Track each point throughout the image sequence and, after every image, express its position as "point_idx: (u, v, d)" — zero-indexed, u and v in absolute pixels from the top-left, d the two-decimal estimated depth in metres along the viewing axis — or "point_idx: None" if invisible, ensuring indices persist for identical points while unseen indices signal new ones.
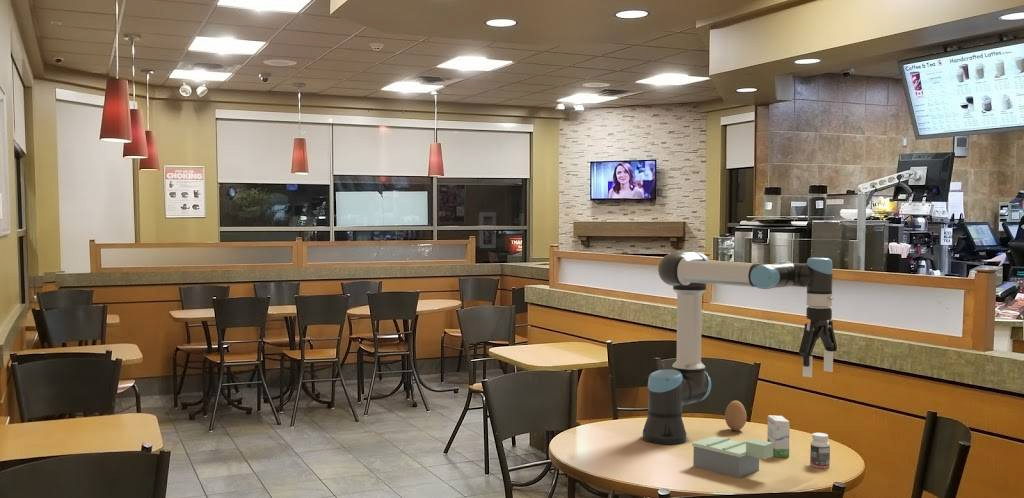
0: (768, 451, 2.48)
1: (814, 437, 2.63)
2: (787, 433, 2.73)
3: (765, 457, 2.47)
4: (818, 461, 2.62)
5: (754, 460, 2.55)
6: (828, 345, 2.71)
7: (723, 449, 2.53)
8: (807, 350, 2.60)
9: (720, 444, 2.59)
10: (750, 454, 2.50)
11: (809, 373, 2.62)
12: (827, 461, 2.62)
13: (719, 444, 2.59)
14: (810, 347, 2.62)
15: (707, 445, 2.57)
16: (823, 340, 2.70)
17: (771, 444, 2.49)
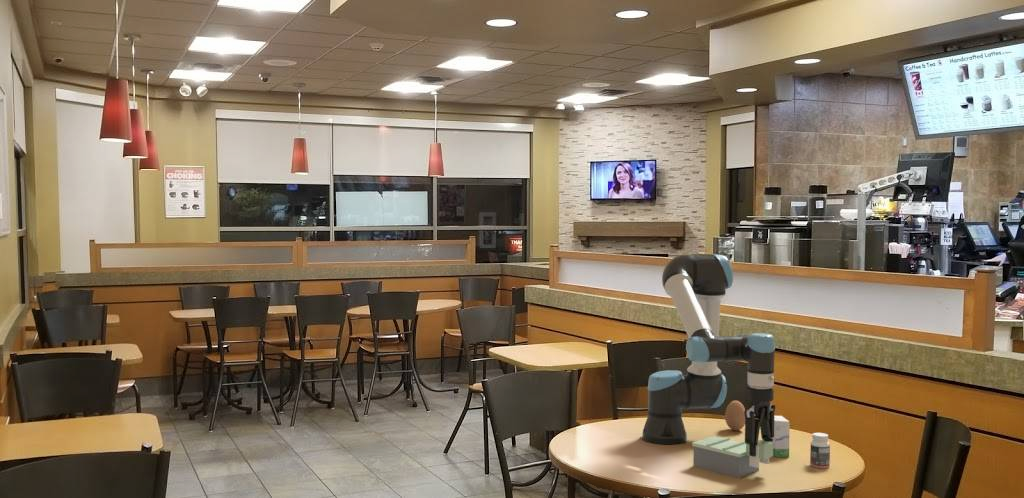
0: (768, 451, 2.48)
1: (814, 437, 2.63)
2: (787, 433, 2.73)
3: (765, 457, 2.47)
4: (818, 461, 2.62)
5: None
6: (765, 432, 2.52)
7: (723, 449, 2.53)
8: (752, 440, 2.45)
9: (720, 444, 2.59)
10: None
11: (756, 463, 2.48)
12: (827, 461, 2.62)
13: (719, 444, 2.59)
14: (755, 435, 2.47)
15: (707, 445, 2.57)
16: (761, 425, 2.52)
17: (771, 444, 2.49)
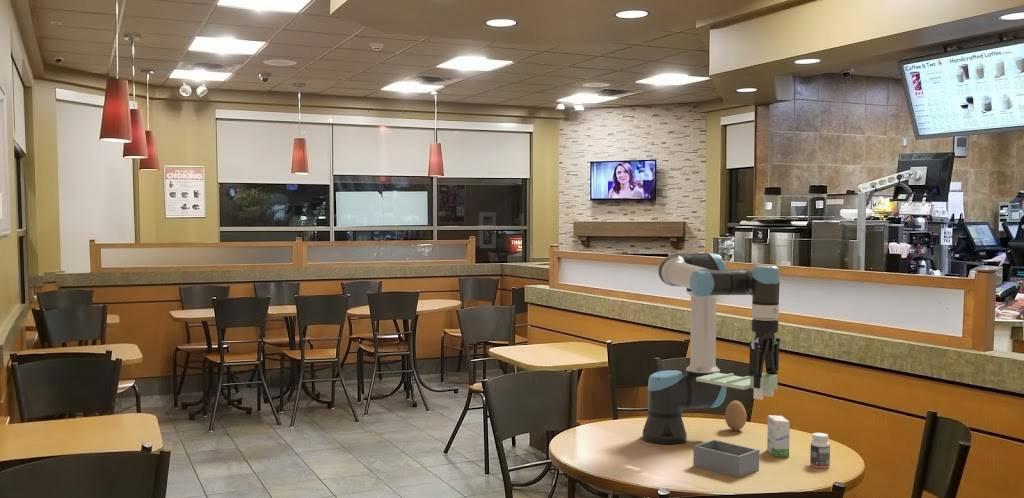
0: (772, 384, 2.47)
1: (814, 437, 2.63)
2: (787, 433, 2.73)
3: (769, 389, 2.46)
4: (818, 461, 2.62)
5: (754, 460, 2.55)
6: (770, 365, 2.50)
7: (727, 382, 2.51)
8: (757, 371, 2.44)
9: (724, 379, 2.57)
10: None
11: (760, 395, 2.46)
12: (827, 461, 2.62)
13: (723, 379, 2.57)
14: (759, 367, 2.45)
15: (711, 379, 2.55)
16: (766, 358, 2.50)
17: (776, 377, 2.48)
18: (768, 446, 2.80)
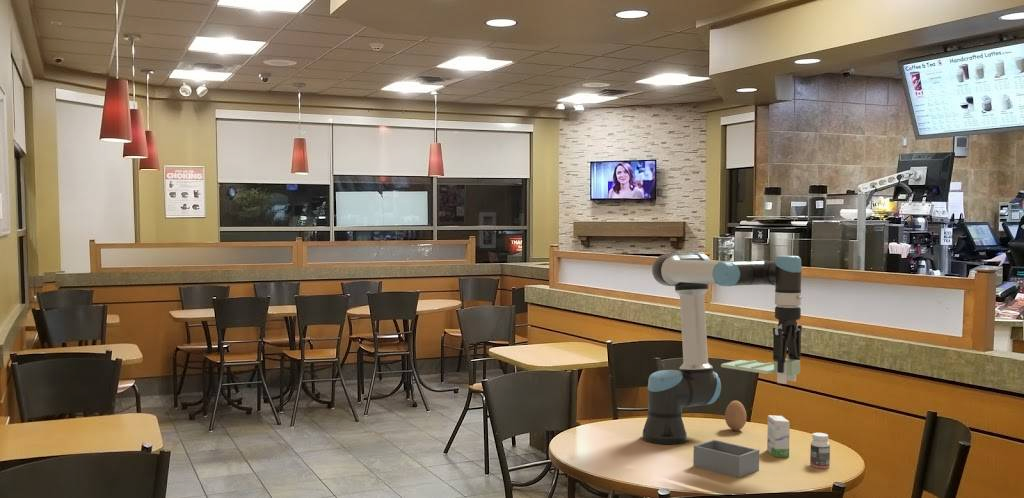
0: (795, 368, 2.57)
1: (814, 437, 2.63)
2: (787, 433, 2.73)
3: (793, 373, 2.56)
4: (818, 461, 2.62)
5: (754, 460, 2.55)
6: (792, 351, 2.61)
7: (752, 367, 2.62)
8: (781, 356, 2.55)
9: (748, 365, 2.68)
10: None
11: (783, 379, 2.57)
12: (827, 461, 2.62)
13: (747, 365, 2.68)
14: (783, 352, 2.56)
15: (736, 365, 2.66)
16: (788, 344, 2.61)
17: (798, 362, 2.58)
18: (768, 446, 2.80)
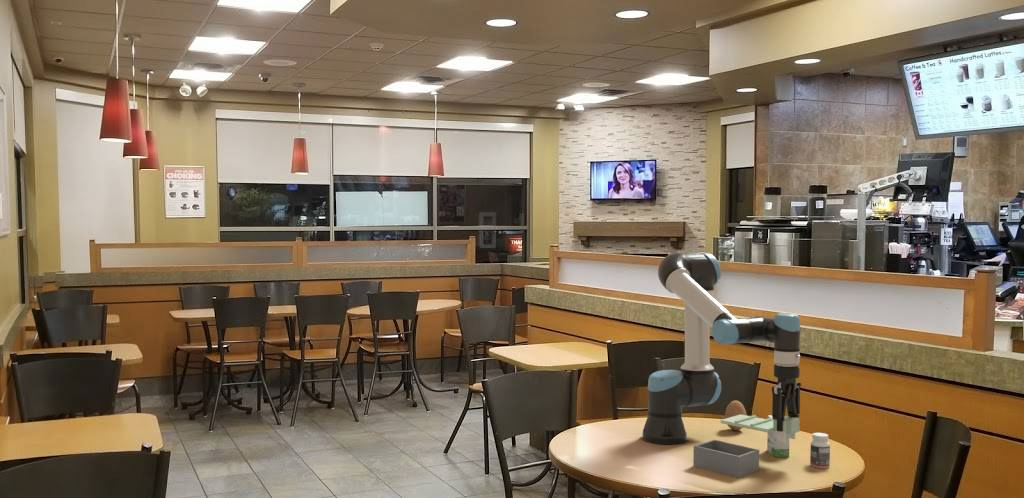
0: (795, 427, 2.58)
1: (814, 437, 2.63)
2: None
3: (792, 432, 2.57)
4: (818, 461, 2.62)
5: (754, 460, 2.55)
6: (791, 409, 2.61)
7: (751, 425, 2.62)
8: (780, 415, 2.55)
9: (747, 421, 2.69)
10: None
11: (783, 438, 2.57)
12: (827, 461, 2.62)
13: (747, 421, 2.69)
14: (782, 411, 2.57)
15: (735, 422, 2.66)
16: (788, 402, 2.62)
17: (798, 420, 2.59)
18: (768, 446, 2.80)
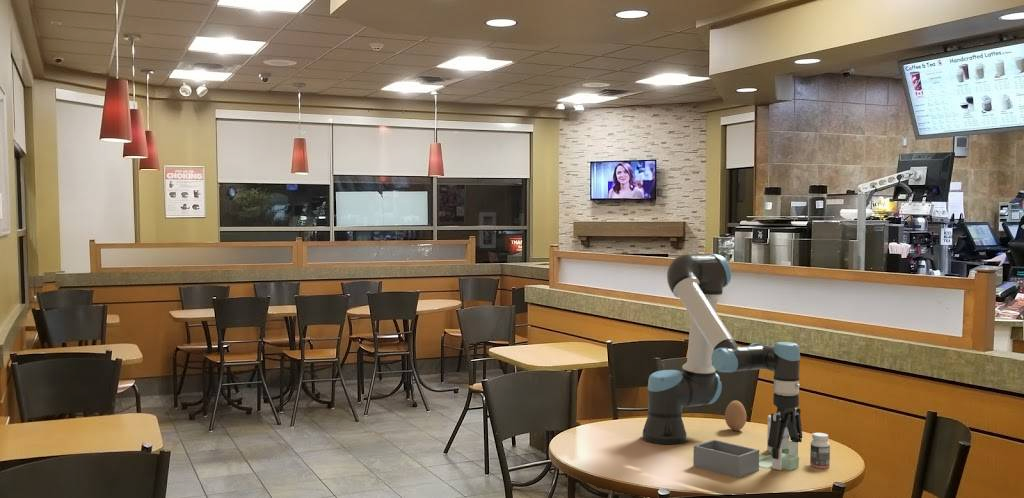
0: (794, 465, 2.58)
1: (814, 437, 2.63)
2: (787, 433, 2.73)
3: None
4: (818, 461, 2.62)
5: (754, 460, 2.55)
6: (793, 434, 2.63)
7: None
8: (776, 443, 2.54)
9: None
10: None
11: (778, 465, 2.56)
12: (827, 461, 2.62)
13: None
14: (779, 439, 2.56)
15: None
16: (789, 428, 2.63)
17: (797, 458, 2.59)
18: (768, 446, 2.80)
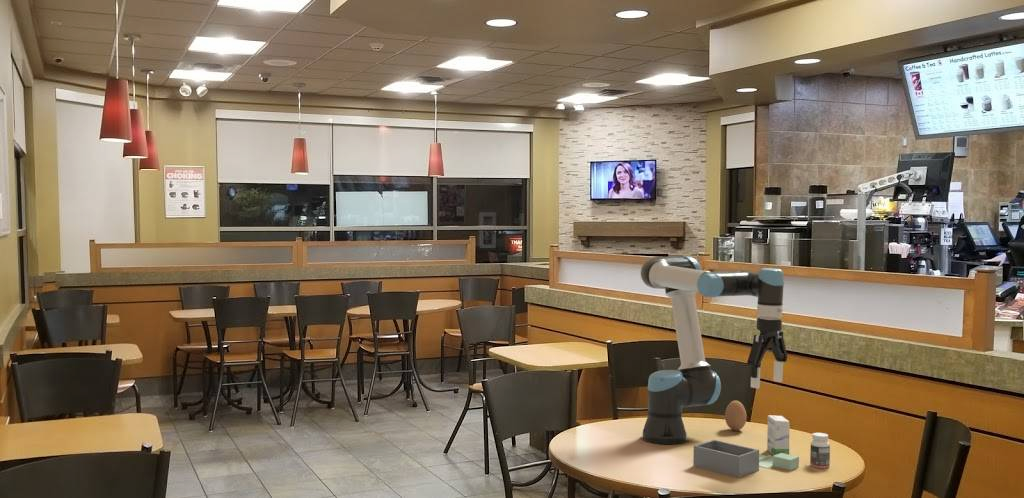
0: (794, 465, 2.58)
1: (814, 437, 2.63)
2: (787, 433, 2.73)
3: None
4: (818, 461, 2.62)
5: (754, 460, 2.55)
6: (778, 355, 2.70)
7: None
8: (755, 362, 2.59)
9: None
10: None
11: (757, 384, 2.62)
12: (827, 461, 2.62)
13: None
14: (758, 358, 2.61)
15: None
16: (773, 350, 2.70)
17: (797, 458, 2.59)
18: (768, 446, 2.80)
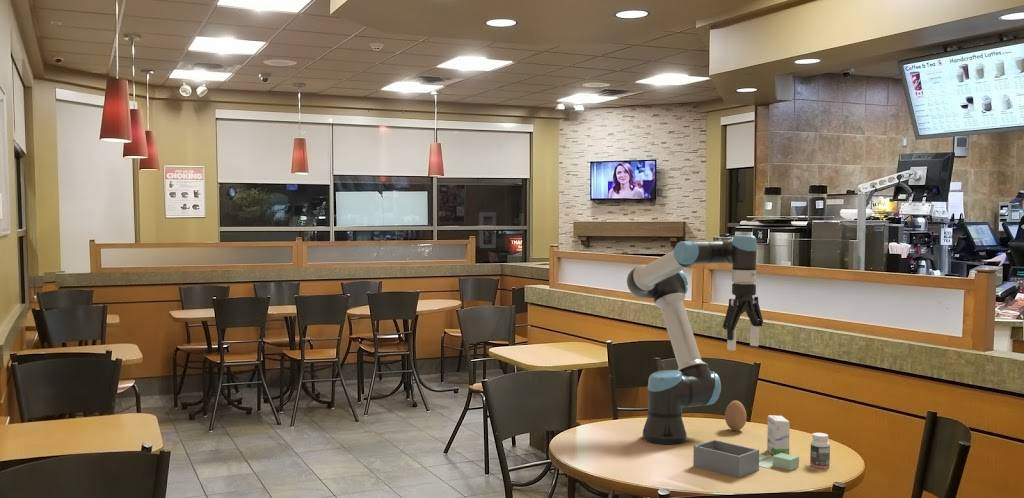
0: (794, 465, 2.58)
1: (814, 437, 2.63)
2: (787, 433, 2.73)
3: None
4: (818, 461, 2.62)
5: (754, 460, 2.55)
6: (754, 320, 2.80)
7: None
8: (730, 324, 2.69)
9: None
10: None
11: (733, 346, 2.71)
12: (827, 461, 2.62)
13: None
14: (734, 321, 2.71)
15: None
16: (749, 315, 2.79)
17: (797, 458, 2.59)
18: (768, 446, 2.80)
